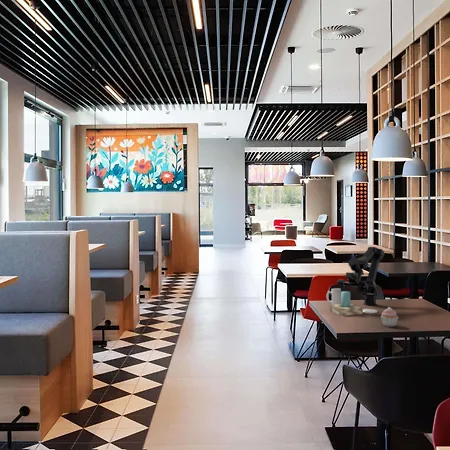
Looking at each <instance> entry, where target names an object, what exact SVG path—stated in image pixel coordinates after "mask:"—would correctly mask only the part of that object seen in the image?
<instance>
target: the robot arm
mask: <svg viewBox="0 0 450 450" xmlns="http://www.w3.org/2000/svg"><path fill="white" fill-rule="evenodd" d="M384 256H385V251H384V250H383V249H382V248H379V247H376V246H368V247H367V249H366V251H365V252H364V254H363V255H362V256H361V257H358V258H357V257H354V256H353V257H352V258H351V259H349V260H348V261H347V265H348V266H349V268H350V270H351V271H352V272H349V271H348V272H345V279H347V280H346V281H345V279H338V280H337V282H336V283H337V285H338V288H340V289H341V292H344V291H347V289H346V288H347V287H355V288H356V290H355V293H354V297H355V298H356V297H357V296H359V295H360V294H361V293H362V295H363V296H364V303H363V304H364V305H366V306H378V303H377V297H378V296H379V291H378V289H377V284H376V278H377V273H378V269H379V265H380V262H381V261H383V258H384ZM370 260H371V262H370ZM369 262H370V267H369V271H368V275H367V278H366V280H365V279H364V280H361V279H362V276H364V274H365V273H364V270H366V269H367V268H368V266H369ZM363 269H364V270H363Z"/></svg>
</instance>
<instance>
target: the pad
mask: <svg viewBox="0 0 450 450" xmlns="http://www.w3.org/2000/svg"><path fill="white" fill-rule="evenodd" d="M377 313H378V309H374V308H363V314H377Z"/></svg>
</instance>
